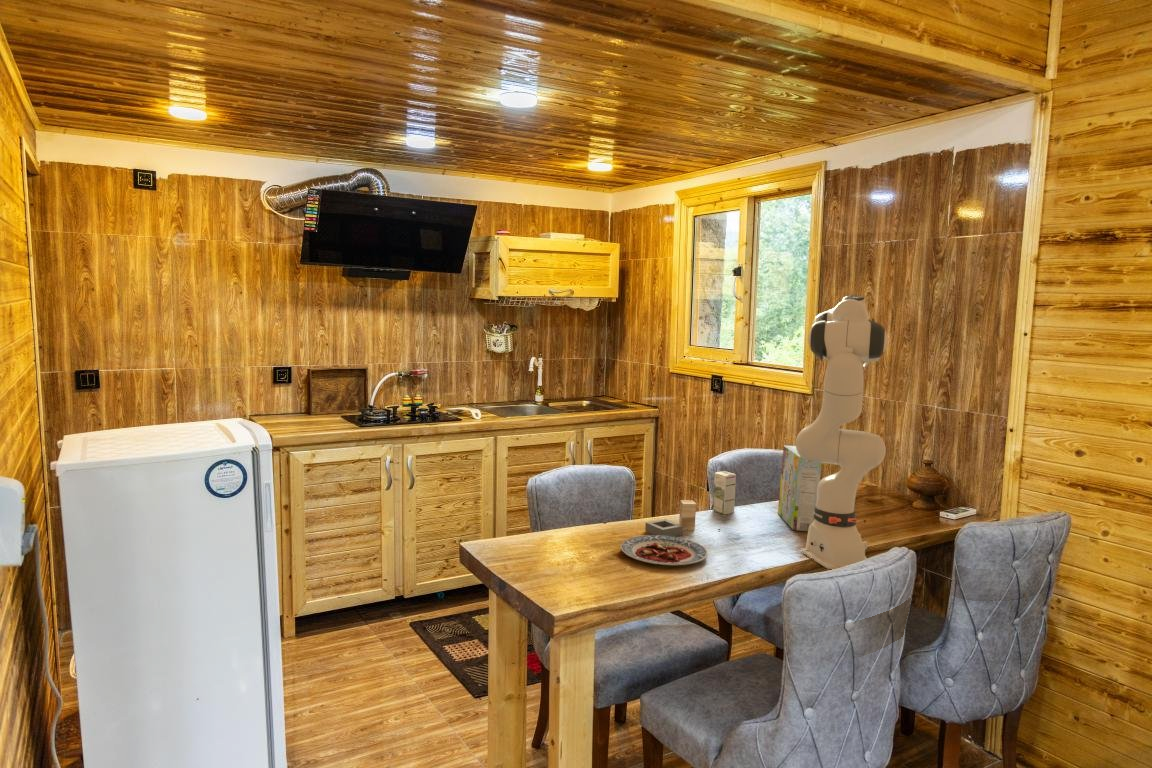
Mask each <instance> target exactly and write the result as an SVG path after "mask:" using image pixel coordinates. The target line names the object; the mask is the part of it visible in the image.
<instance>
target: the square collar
mask: <svg viewBox="0 0 1152 768" xmlns="http://www.w3.org/2000/svg"><path fill="white" fill-rule="evenodd" d="M644 525H645V526H644V527H645V529H644V532H645V531H646V532H645V533H648V534H649V535H652V534H653V535H663V536H672V537H679V536H683V531H684V530H683V526H682V525H679V523H676V522H674V521H671V520H670V519H666V518H665V519H664V518H663V519H658V520H653V521H652V520H651V521H647V522H645V524H644ZM678 535H679V536H678Z"/></svg>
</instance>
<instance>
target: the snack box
mask: <svg viewBox="0 0 1152 768" xmlns="http://www.w3.org/2000/svg"><path fill="white" fill-rule="evenodd" d="M822 465H823V463H817V462H813V461H810V460H807V459H803V458H801V457H800V455H799V454H798V452H797V450H796V445H785V444H784V445H783V449H782V461H781V473H780V474H781V475H780V483H779V485H780V486H779V495H778V496H779V498H778V507H777V508H778V509H777V514H778V515H779V516H780V517H781V519H783V521H784V522H785V523H786V524H787V525H788V526H789V528H790V529H791V530H792V531H800V532H808V529H809V526H810V525H811V524H812V523H813V521H814V508H815V506H816V501H817V487H818V483H819V482H820V480H821V476H822V475H821V474H822Z"/></svg>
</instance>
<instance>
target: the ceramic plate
mask: <svg viewBox="0 0 1152 768" xmlns="http://www.w3.org/2000/svg"><path fill="white" fill-rule="evenodd" d="M620 548H621V551H622V552H623V554H625V555H626V556H627V557H629V558H632V559H634V560H637V561H640V562H644V563H648V564H653V565H658V564H659V565H660V566H685V565H693V564H696V563H700V562H702V561H703V560H705V559H706V558H707V556H708V554H709V553H708V550H707V548H706V547H704V546H703V545H701V544H700V543H698V542H695V541H693V540H690V539H687V538H683V537H679V536H674V537H672V536H663V535H652V534H649V535H648V534H646V535H638V536H634V537H631V538H628V539H626V540H624V541H623V542H622V543H621V545H620Z"/></svg>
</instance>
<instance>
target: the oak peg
mask: <svg viewBox="0 0 1152 768" xmlns="http://www.w3.org/2000/svg"><path fill="white" fill-rule="evenodd" d="M679 501H680V502H679V516H678V524H679V525H682V526H683V531H695V528H696V515H697V514H696V513H697V512H696V511H697V503H696V502H695V500H692V499H680V500H679ZM687 529H688V530H687Z"/></svg>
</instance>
